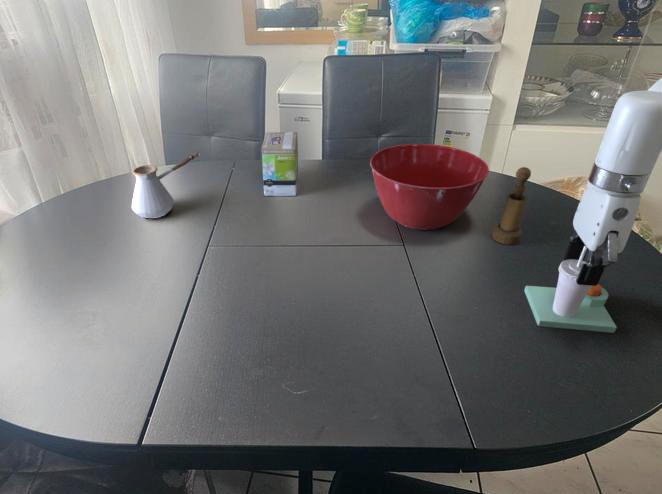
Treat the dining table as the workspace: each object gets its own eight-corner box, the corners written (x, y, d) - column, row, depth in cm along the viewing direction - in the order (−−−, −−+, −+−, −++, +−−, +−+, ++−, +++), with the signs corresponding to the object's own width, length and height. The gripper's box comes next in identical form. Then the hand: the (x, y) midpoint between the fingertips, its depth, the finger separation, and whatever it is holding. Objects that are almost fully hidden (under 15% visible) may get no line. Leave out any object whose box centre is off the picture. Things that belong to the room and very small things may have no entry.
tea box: (297, 196, 132) (295, 147, 123) (263, 197, 132) (259, 148, 124) (298, 176, 144) (297, 130, 136) (267, 176, 144) (264, 131, 136)
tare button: (595, 288, 88) (598, 282, 87) (601, 297, 85) (604, 291, 84) (580, 287, 88) (583, 281, 87) (585, 296, 86) (588, 289, 85)
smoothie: (568, 298, 87) (592, 236, 79) (590, 319, 82) (619, 256, 74) (537, 302, 87) (559, 240, 79) (557, 324, 81) (583, 260, 73)
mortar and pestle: (524, 244, 106) (546, 173, 96) (497, 245, 106) (516, 174, 96) (513, 231, 112) (533, 162, 102) (487, 231, 112) (504, 163, 102)
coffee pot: (136, 226, 119) (122, 173, 111) (131, 208, 128) (117, 158, 119) (214, 209, 126) (206, 158, 118) (204, 194, 135) (196, 145, 126)
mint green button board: (596, 295, 90) (601, 283, 88) (619, 333, 81) (625, 321, 79) (523, 289, 92) (527, 278, 91) (537, 326, 83) (542, 314, 81)
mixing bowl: (491, 211, 121) (504, 155, 112) (451, 258, 102) (464, 197, 94) (396, 187, 135) (401, 136, 126) (346, 225, 117) (348, 169, 108)
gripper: (672, 203, 61) (622, 304, 72) (621, 158, 75) (585, 248, 86) (613, 200, 63) (571, 300, 73) (573, 156, 76) (543, 245, 87)
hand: (579, 271), depth 79 cm, fingers closed on smoothie, 6 cm apart
